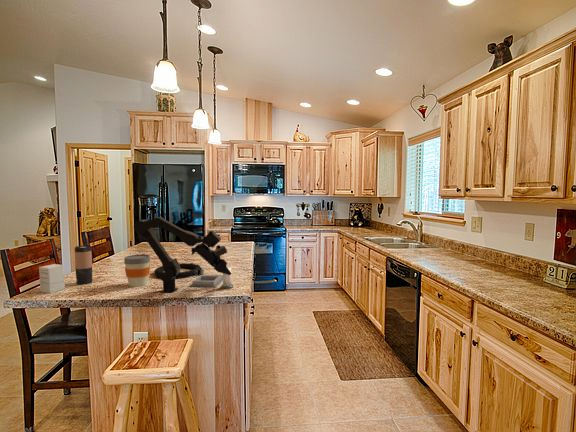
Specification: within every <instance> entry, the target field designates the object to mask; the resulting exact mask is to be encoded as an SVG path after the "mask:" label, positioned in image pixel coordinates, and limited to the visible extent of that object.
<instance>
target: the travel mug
mask: <svg viewBox="0 0 576 432" xmlns="http://www.w3.org/2000/svg"><path fill="white" fill-rule="evenodd" d="M92 258H93V255H92V246H91V245H90V244H89V245H88V244H87V245H85V244H84V245H78V246H75V247H74V264H75V265H74V266H75V278H76V285H78V286H79V285H80V286H81V285H82V286H83V285H84V284H85V285H89V284H92V283H93V259H92Z"/></svg>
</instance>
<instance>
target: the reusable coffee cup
mask: <svg viewBox="0 0 576 432" xmlns="http://www.w3.org/2000/svg"><path fill="white" fill-rule="evenodd" d="M150 256H151V255H149V254H132V255H131V254H130V255H126V256H125V257H124V259H123V260H124V261H123V264H124V265H125V268H124V271H125V276H126V278H127V281H128V282H127V283H128V286H129V287H133V288H137V287H143V286H146V285H147V284H148V280H149V275H150V269H151V266H150V262H151V257H150Z"/></svg>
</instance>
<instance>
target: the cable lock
mask: <svg viewBox="0 0 576 432" xmlns="http://www.w3.org/2000/svg"><path fill="white" fill-rule="evenodd" d="M179 263H180V262H179ZM180 267H181V269H180V270H182V269H183V270H184V269H185V270H186V271H180V272H179V273H178V274H177V276H176V277H175V279H182V278H183V279H184V278H191V277H194V276H195V277H196V276H201V275H204V273H205V271H204V269H203V268H202V267H201V265H199V264H195V263H188V262H187V263H186V262H182V263H180ZM153 272H154V273H153V274H154V276H155V277H157V278H160V277H161V276H162V275H163V274H164V273H165V272H164V270H163V266H162V265H161V266H159V267H157V268H155V269H154V270H153Z"/></svg>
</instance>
